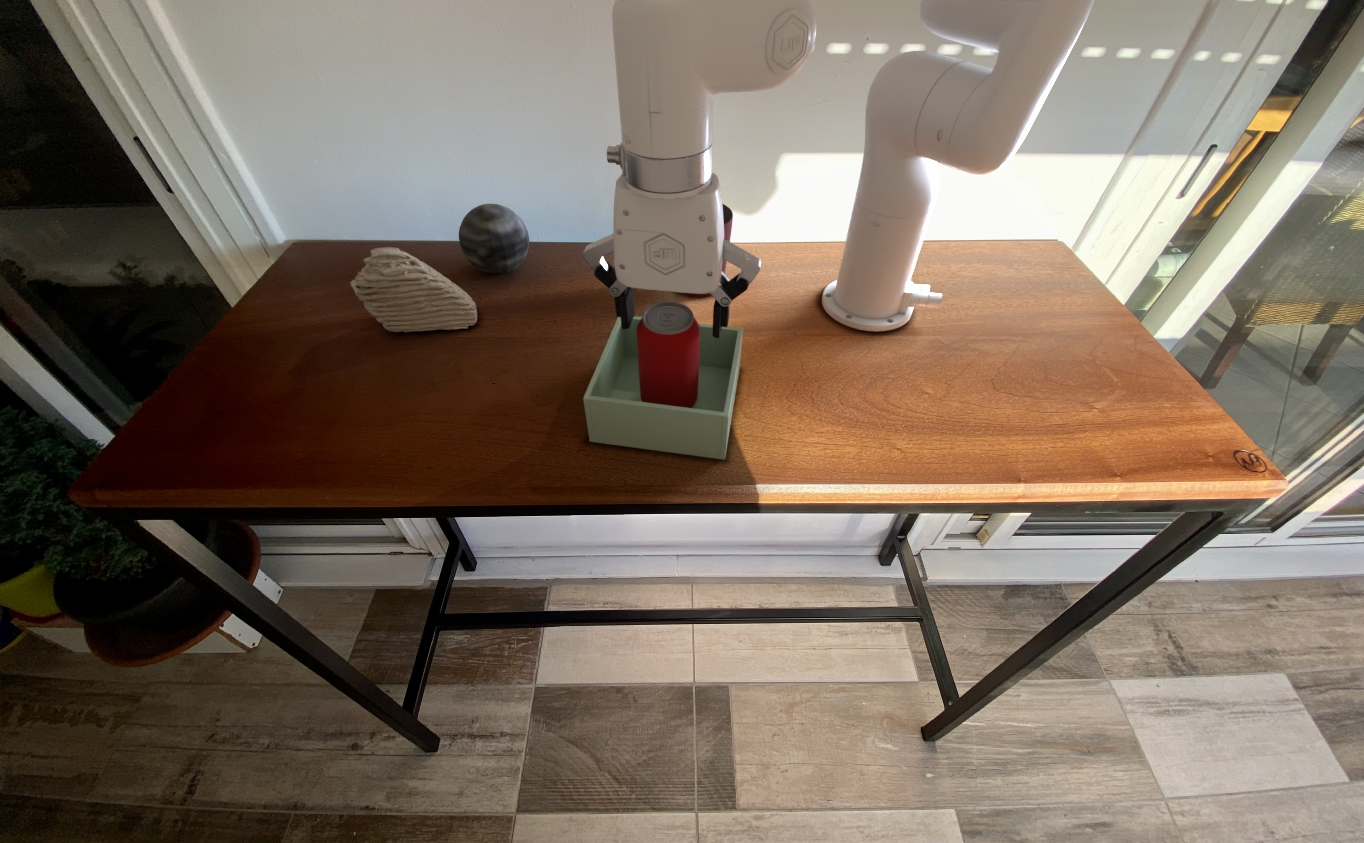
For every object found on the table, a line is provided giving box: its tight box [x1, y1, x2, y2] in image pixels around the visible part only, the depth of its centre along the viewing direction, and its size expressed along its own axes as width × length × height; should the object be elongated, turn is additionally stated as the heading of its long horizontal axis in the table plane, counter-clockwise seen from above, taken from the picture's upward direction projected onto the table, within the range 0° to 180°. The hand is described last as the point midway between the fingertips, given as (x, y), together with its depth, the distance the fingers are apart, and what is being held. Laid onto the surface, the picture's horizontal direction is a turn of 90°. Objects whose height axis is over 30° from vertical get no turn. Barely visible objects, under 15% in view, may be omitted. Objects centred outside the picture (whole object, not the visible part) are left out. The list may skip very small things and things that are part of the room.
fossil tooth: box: [349, 246, 478, 333], centre depth 78 cm, size 12×6×15 cm
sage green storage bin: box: [582, 315, 744, 461], centre depth 68 cm, size 15×15×7 cm
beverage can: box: [637, 301, 700, 408], centre depth 66 cm, size 7×7×12 cm
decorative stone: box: [458, 203, 530, 275], centre depth 88 cm, size 10×10×10 cm
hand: (672, 325), depth 63 cm, fingers open, 9 cm apart
